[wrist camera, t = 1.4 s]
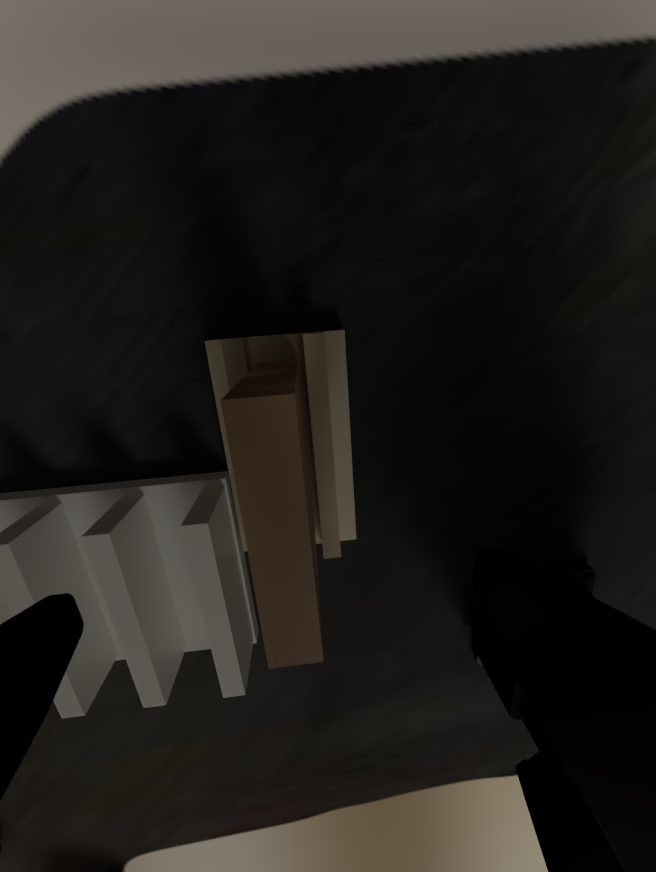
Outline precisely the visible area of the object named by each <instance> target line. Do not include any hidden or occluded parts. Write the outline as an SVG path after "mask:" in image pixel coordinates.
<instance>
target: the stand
mask: <svg viewBox="0 0 656 872" xmlns="http://www.w3.org/2000/svg"><path fill="white" fill-rule="evenodd" d="M205 346H206V352H207V357H208V363H209V368H210V373H211V379H212V384H213V390H214V395H215V400H216V406H217V411H218V417H219V422H220V428H221V433H222V438H223V444H224V449H225V455H226V460H227V465H228V471H229V476H230V482H231V487H232V492H233V498H234V503H235V509H236V514H237V519H238V525H239V530H240V536H241V541H242V547H243V551H248V550H247V545H246V539H245V534H244V528H243V523H242V517H241V511H240V506H239V500H238V495H237V489H236V484H235V478H234V473H233V467H232V461H231V456H230V450H229V445H228V439H227V434H226V428H225V423H224V417H223V411H222V406H221V399H222V398H223V397H224V396H225V395H226V394H227V393H228V392H229V391H230V390H231V389H232V388H233V387H234V386H235V385H236V384H237V383H238V382H239V381H240V380H241V379H242V378H243V377H244V376H245V375H247V374H248V373H249V372H250V371H251V370H252V369H253V368H254V367H255V366H256V365H257V364H258V363H259V362H271V361H283V360H295V359H298V366H299V376H300V386H301V396H302V406H303V416H304V426H305V436H306V446H307V456H308V465H309V475H310V485H311V495H312V505H313V515H314V525H315V539H316V544H317V543H322V544H323V554H324V559H326V558H335V557H341V549H340V541H344V540H353V539H356V525H355V507H354V489H353V471H352V453H351V435H350V417H349V399H348V381H347V363H346V345H345V330H330V331H318V332H305V333H293V334H280V335H268V336H255V337H243V338H230V339H218V340H208V341H205Z"/></svg>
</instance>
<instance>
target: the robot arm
mask: <svg viewBox="0 0 656 872" xmlns="http://www.w3.org/2000/svg"><path fill="white" fill-rule="evenodd" d="M595 578H596V572H595V570H594V569H593V568H591V567H590V566H589V565H587V564H579V565H570V566H562V567H553V568H545V569H537V568H535V567H534V566H532V565H530V564H528V563H526V562H524V561H522V560H520V559H518V558H516V557H514V556H512V555H510V554H508V553H507V552H505V551H503V550H501V549H499V548H497V547H494V546H490V547H481V548H477V549H476V550H475V554H474V565H473V583H474V587H475V589H476V592H477V594H478V596H479V601H478V611H477V612H476V614H475V623H474V635H473V647H474V657H475V659H476V661H477V663H478V664H479V665H481V666H484V668H485V670H486V672H487V674H488V676H489V678H490V680H491V682H492V683H493V685H494V687H495V689H496V691H497V693H498V695H499V697H500V699H501V701H502V702H503V704H504V706H505V708H506V710H507V712H508V714H509V716H511V717H512V718H513V719H514V720H516V721H519V720H522V721H523V722H524V724H525V726H526V728H527V730H528V731H529V733H530V735H531V737H532V739H533V740H534V742H535V744H536V746H537V748H538V749H539V752H538V753H537V754H535V755H534V756H533V757H531V758H530V759H529V760H526V759H524V760H523V761H521V762H520V763H519V764H517V765H516V766H515V768H516V771H517V775H518V778H519V781H520V784H521V787H522V790H523V794H524V797H525V800H526V804H527V806H528V810H529V813H530V816H531V819H532V822H533V825H534V829H535V832H536V835H537V838H538V841H539V844H540V847H541V850H542V853H543V857H544V859H545V862H546V866H547V869H548V872H656V630H655V629H653V628H651V627H649V626H647V625H645V624H643V623H641V622H639V621H638V620H636V619H634V618H632V617H630V616H628V615H626V614H624V613H622V612H620V611H618V610H616V609H614V608H612V607H611V606H609V605H607V604H605V603H603V602H601V601H599V600H597V599H596V598H595V597H594V596H593V595H592V591H593V587H594V582H595ZM83 629H84V621H83V618H82V616H81V613H80V611H79V608H78V606H77V603H76V601H75V598H74V596H73V595H71V594H69V593H63V594H54V595H49V596H47V597H45V598H43V599H42V600H40V601H38V602H37V603H35V604H33V605H32V606H30V607H28V608H27V609H25V610H23V611H22V612H20V613H18V614H17V615H15V616H13V617H12V618H10V619H8V620H7V621H5V622H3V623H2V624H0V801H1V799H2V797H3V795H4V793H5V791H6V790H7V788H8V786H9V784H10V782H11V780H12V778H13V777H14V775H15V773H16V771H17V769H18V767H19V765H20V764H21V762H22V760H23V758H24V756H25V754H26V752H27V750H28V749H29V747H30V745H31V743H32V741H33V739H34V737H35V736H36V734H37V732H38V730H39V728H40V726H41V724H42V722H43V720H44V718H45V716H46V714H47V712H48V710H49V708H50V706H51V704H52V702H53V700H54V697H55V695H56V693H57V691H58V688H59V686H60V684H61V681H62V679H63V677H64V675H65V672H66V670H67V668H68V665H69V663H70V661H71V659H72V656H73V654H74V652H75V649H76V647H77V645H78V643H79V640H80V638H81V636H82V633H83Z"/></svg>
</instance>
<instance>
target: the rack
mask: <svg viewBox="0 0 656 872" xmlns="http://www.w3.org/2000/svg"><path fill="white" fill-rule="evenodd" d="M63 593H69V594H71V595H73V596H74V598H75V601H76V603H77V606H78V608H79V611H80V613H81V616H82V618H83V621H84V629H83V633H82V636H81V638H80V640H79V643H78V645H77V647H76V649H75V652H74V654H73V656H72V659H71V661H70V663H69V665H68V668H67V670H66V672H65V675H64V677H63V679H62V681H61V684H60V686H59V688H58V691H57V693H56V695H55V697H54V700H53V701H54V703H55V705H56V707H57V709H58V711H59V713H60V715H61V718H69V717H77V716H85V714H86V712H87V711H88V709H89V707H90V705H91V703H92V701H93V700H94V698H95V696H96V694H97V692H98V690H99V689H100V687H101V685H102V683H103V681H104V680H105V678H106V676H107V674H108V672H109V670H110V669H111V667H112V665H113V663H114V661H115V660H122V659H126V661H127V664H128V667H129V669H130V672H131V675H132V678H133V680H134V683H135V686H136V689H137V691H138V694H139V697H140V700H141V703H142V705H143V708H147V707H155V706H163V705H166V703H167V700H168V698H169V695H170V692H171V689H172V686H173V683H174V681H175V678H176V675H177V672H178V669H179V666H180V663H181V661H182V658H183V655H184V652H188V651H196V650H204V649H211V650H212V654H213V658H214V662H215V666H216V670H217V674H218V678H219V682H220V686H221V690H222V694H223V698H225V697H233V696H241V695H245V693H246V686H247V680H248V673H249V666H250V660H251V653H252V646H253V644H254V643H257V637H258V626H257V621H256V615H255V610H254V604H253V599H252V594H251V588H250V583H249V577H248V572H247V566H246V561H245V556H244V551H243V547H242V541H241V536H240V530H239V525H238V519H237V514H236V509H235V503H234V498H233V492H232V487H231V482H230V476H229V471H224V472H214V473H204V474H193V475H183V476H173V477H163V478H153V479H142V480H132V481H122V482H112V483H101V484H91V485H81V486H71V487H61V488H50V489H40V490H30V491H20V492H9V493H0V624H2V623H3V622H5V621H7V620H8V619H10V618H12V617H13V616H15V615H17V614H18V613H20V612H22V611H23V610H25V609H27V608H28V607H30V606H32V605H33V604H35V603H37V602H38V601H40V600H42V599H43V598H45V597H47V596H49V595H54V594H63Z"/></svg>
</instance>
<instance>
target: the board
mask: <svg viewBox="0 0 656 872" xmlns="http://www.w3.org/2000/svg"><path fill="white" fill-rule="evenodd" d="M221 406H222V411H223V417H224V423H225V428H226V434H227V439H228V445H229V450H230V456H231V461H232V467H233V473H234V478H235V484H236V489H237V495H238V500H239V506H240V511H241V517H242V523H243V528H244V534H245V539H246V545H247V550H248V556H249V561H250V567H251V573H252V578H253V584H254V589H255V595H256V600H257V606H258V611H259V617H260V623H261V628H262V634H263V639H264V645H265V650H266V656H267V661H268V667H269V669H270V668H278V667H286V666H294V665H302V664H310V663H318V662H323V647H322V631H321V616H320V601H319V585H318V570H317V555H316V539H315V525H314V515H313V505H312V495H311V485H310V475H309V465H308V456H307V446H306V436H305V426H304V416H303V406H302V396H301V386H300V376H299V366H298V359H295V360H283V361H271V362H259V363H258V364H257V365H256V366H255V367H254V368H253V369H252V370H251V371H250V372H249V373H248V374H247V375H245V376H244V377H243V378H242V379H241V380H240V381H239V382H238V383H237V384H236V385H235V386H234V387H233V388H232V389H231V390H230V391H229V392H228V393H227V394H226V395H225V396H224V397H223V398H222V399H221Z"/></svg>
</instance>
